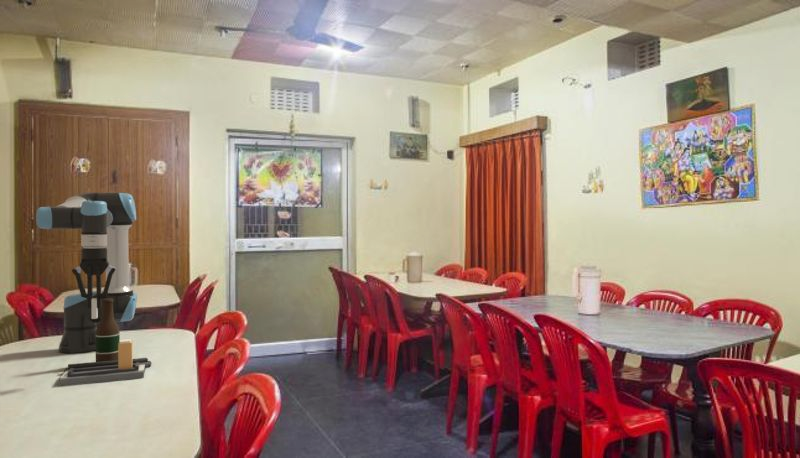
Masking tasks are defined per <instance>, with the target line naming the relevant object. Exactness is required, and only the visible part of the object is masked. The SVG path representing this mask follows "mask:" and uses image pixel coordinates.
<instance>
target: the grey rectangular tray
mask: <svg viewBox="0 0 800 458" xmlns="http://www.w3.org/2000/svg"><path fill="white" fill-rule="evenodd" d="M145 372H146V367H145V364H139V362H136V364H133V367H132V368H130V369H119V370H118V365H116V366H105V367H93V368H82V369H74V368H70V370H68V371H66V372H65V373H64V372H63V374H62V376H61V377H60V378H59V384H58V385H59V387H63V386H64V387H65V386H74V385H82V384H83V385H85V384H96V383H103V382H104V383H105V382H114V381H125V380H137V379H144V377H145Z"/></svg>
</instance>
